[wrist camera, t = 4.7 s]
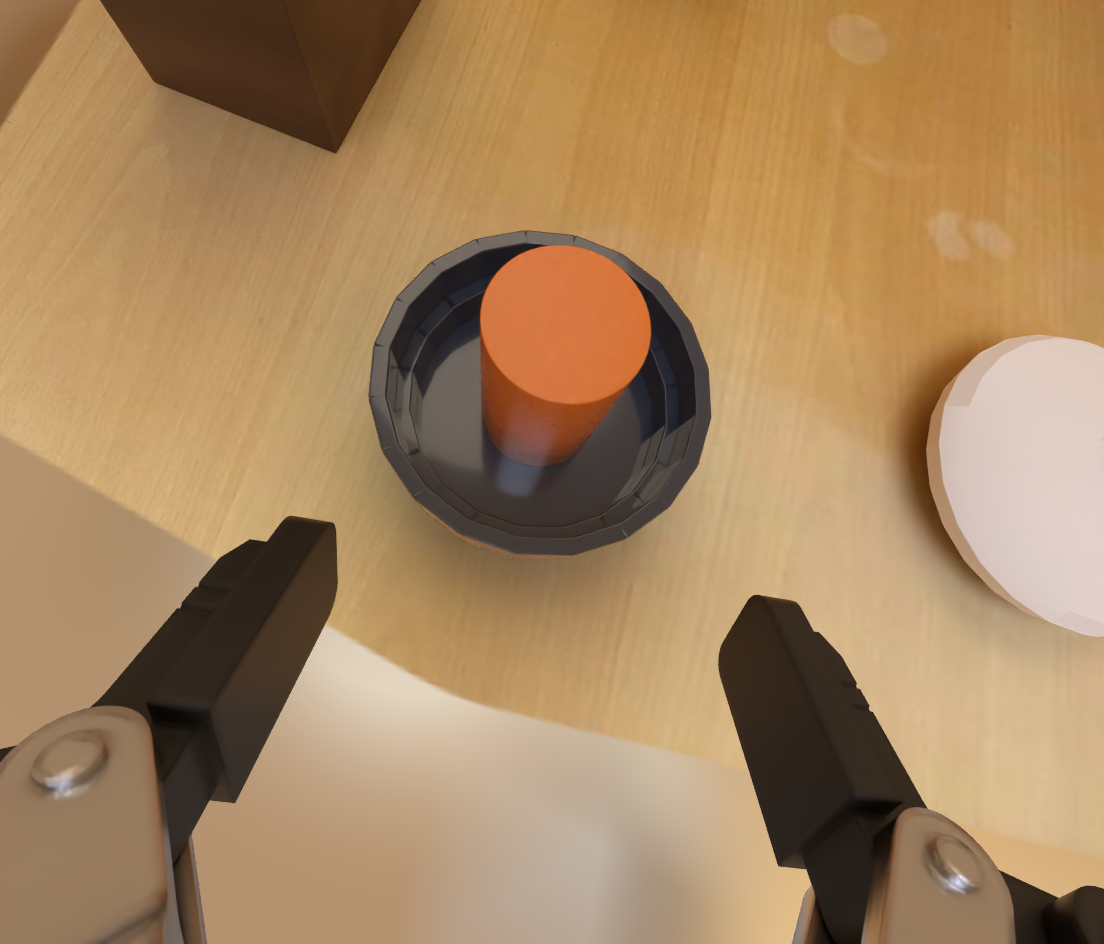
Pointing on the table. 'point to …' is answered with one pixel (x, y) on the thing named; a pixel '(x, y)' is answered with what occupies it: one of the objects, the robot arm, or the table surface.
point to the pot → (488, 475)
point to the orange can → (557, 350)
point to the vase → (1027, 475)
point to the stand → (268, 55)
